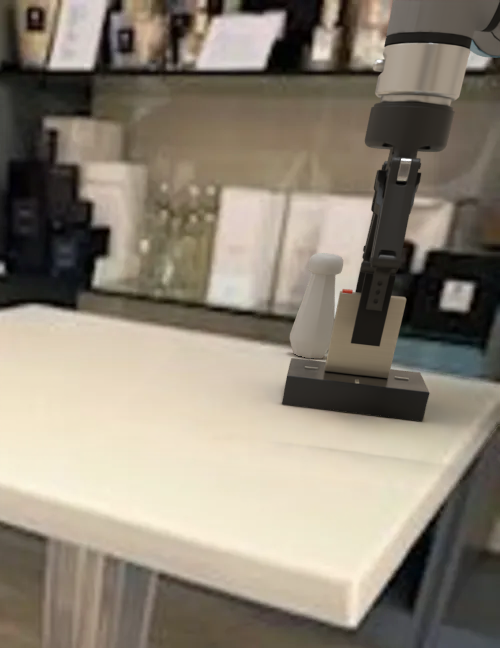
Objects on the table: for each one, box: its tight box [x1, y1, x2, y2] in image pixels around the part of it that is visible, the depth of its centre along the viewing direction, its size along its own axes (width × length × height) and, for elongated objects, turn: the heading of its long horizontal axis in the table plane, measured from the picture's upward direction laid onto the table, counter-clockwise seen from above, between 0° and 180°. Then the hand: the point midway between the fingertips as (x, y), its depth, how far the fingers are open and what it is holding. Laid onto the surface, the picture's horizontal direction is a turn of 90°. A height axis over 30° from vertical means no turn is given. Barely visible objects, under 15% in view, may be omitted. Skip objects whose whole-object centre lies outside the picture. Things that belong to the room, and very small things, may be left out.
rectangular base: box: [281, 357, 431, 422], centre depth 94 cm, size 14×11×3 cm
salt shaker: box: [289, 252, 344, 360], centre depth 116 cm, size 6×6×13 cm
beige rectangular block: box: [325, 288, 407, 379], centre depth 92 cm, size 6×2×8 cm, turn 74°
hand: (362, 335), depth 92 cm, fingers open, 13 cm apart
